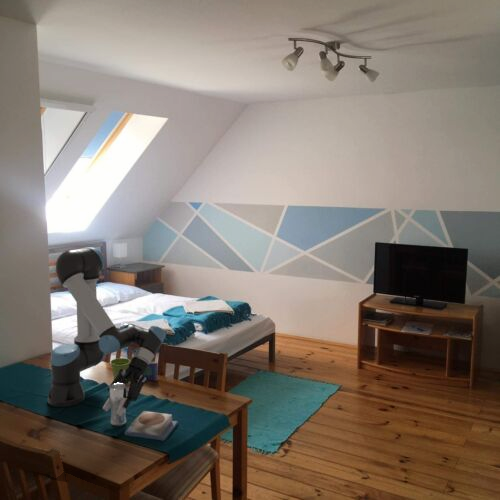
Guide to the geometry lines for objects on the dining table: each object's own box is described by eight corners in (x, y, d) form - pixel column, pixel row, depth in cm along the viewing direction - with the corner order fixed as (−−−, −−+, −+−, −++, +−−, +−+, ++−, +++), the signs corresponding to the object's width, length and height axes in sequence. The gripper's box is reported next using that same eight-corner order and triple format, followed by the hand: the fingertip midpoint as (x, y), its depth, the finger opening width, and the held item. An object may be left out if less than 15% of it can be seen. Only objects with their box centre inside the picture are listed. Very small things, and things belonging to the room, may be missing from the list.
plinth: (130, 431, 206) (130, 423, 206) (143, 417, 218) (143, 410, 217) (160, 435, 203) (160, 427, 203) (172, 421, 215) (172, 414, 215)
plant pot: (134, 378, 262) (134, 360, 261) (120, 384, 255) (120, 366, 253) (120, 373, 267) (120, 356, 266) (106, 379, 260) (106, 362, 258)
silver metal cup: (122, 427, 212) (122, 390, 210) (106, 425, 213) (105, 388, 211) (130, 419, 219) (130, 383, 217) (114, 417, 220) (113, 382, 218)
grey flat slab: (124, 435, 206) (124, 432, 206) (140, 419, 219) (140, 416, 219) (164, 440, 202) (164, 437, 202) (177, 424, 216) (177, 421, 216)
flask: (158, 379, 261) (158, 358, 260) (155, 381, 258) (155, 360, 257) (140, 377, 264) (140, 356, 262) (138, 379, 261) (138, 358, 259)
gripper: (163, 370, 221) (134, 423, 210) (128, 360, 231) (99, 409, 220) (154, 361, 216) (124, 414, 204) (119, 351, 226) (88, 401, 215)
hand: (111, 412), depth 212 cm, fingers closed on silver metal cup, 7 cm apart
